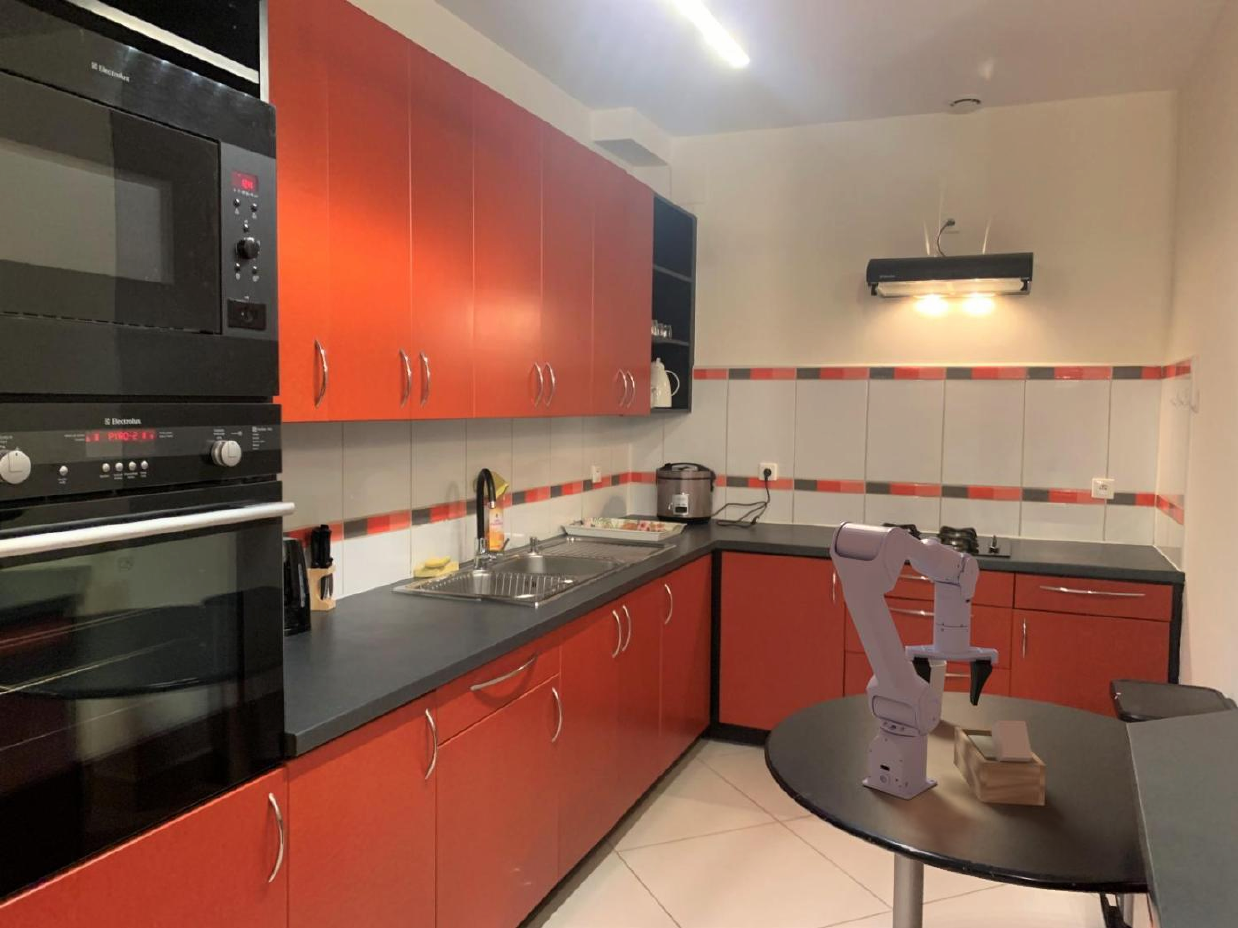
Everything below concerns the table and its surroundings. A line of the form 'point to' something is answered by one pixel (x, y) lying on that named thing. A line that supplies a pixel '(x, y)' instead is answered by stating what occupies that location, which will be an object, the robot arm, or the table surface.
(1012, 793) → the box
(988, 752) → the pale grey flat block
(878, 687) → the robot arm
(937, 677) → the cup
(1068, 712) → the table surface
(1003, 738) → the pinkish beige block
